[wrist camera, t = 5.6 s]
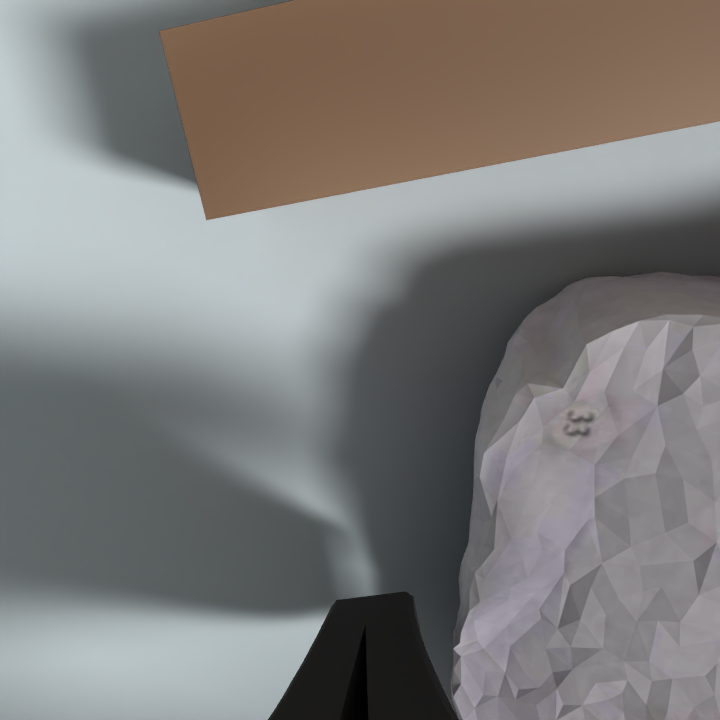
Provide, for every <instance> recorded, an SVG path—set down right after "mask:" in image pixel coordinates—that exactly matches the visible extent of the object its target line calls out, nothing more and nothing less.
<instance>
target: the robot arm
mask: <svg viewBox="0 0 720 720" xmlns="http://www.w3.org/2000/svg"><path fill="white" fill-rule="evenodd" d="M268 720H459V719H458V718H457V716H456V714H455V712H454V710H453V708H452V706H451V704H450V702H449V700H448V698H447V696H446V694H445V692H444V690H443V688H442V686H441V684H440V681H439V679H438V677H437V675H436V672H435V670H434V668H433V666H432V663H431V661H430V659H429V656H428V654H427V651H426V649H425V646H424V643H423V640H422V637H421V633H420V628H419V623H418V618H417V612H416V607H415V602H414V597H413V596H412V595H410V594H409V593H407V592H398V593H390V594H382V595H374V596H366V597H358V598H350V599H342V600H336V602H335V603H334V604H333V605H332V607H331V609H330V611H329V613H328V615H327V617H326V619H325V621H324V623H323V625H322V627H321V629H320V631H319V633H318V635H317V637H316V639H315V641H314V642H313V644H312V646H311V648H310V650H309V652H308V654H307V655H306V657H305V659H304V661H303V663H302V664H301V666H300V668H299V670H298V671H297V673H296V675H295V677H294V678H293V680H292V682H291V683H290V685H289V687H288V689H287V690H286V692H285V694H284V695H283V697H282V699H281V700H280V702H279V704H278V705H277V707H276V708H275V710H274V711H273V713H272V714H271V716H270V717H269V719H268Z"/></svg>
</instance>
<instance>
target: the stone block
mask: <svg viewBox="0 0 720 720" xmlns="http://www.w3.org/2000/svg"><path fill="white" fill-rule="evenodd" d="M459 589H460V600H461V603H460V608H459V612H458V616H457V622H456V626H455V628H454V631H453V633H452V639H453V658H452V668H451V694H452V701H453V704H454V707H455V710H456V713H457V716H458V719H459V720H720V276H706V275H685V274H680V273H672V272H664V271H661V272H653V273H645V274H637V275H631V276H626V277H618V276H604V277H590V278H584V279H581V280H578V281H576V282H573V283H571V284H569V285H567V286H566V287H565V288H564V289H563V290H562V291H560V292H559V293H558V294H557V295H556V296H554V297H553V298H551V299H549V300H548V301H546V302H545V303H543V304H541V305H539V306H537V307H536V308H535V309H534V310H533V311H532V312H530V313H529V314H528V315H527V316H526V317H525V318H524V320H523V321H522V323H521V324H520V326H519V327H518V328H517V330H516V331H515V333H514V334H513V336H512V337H511V338H510V340H509V341H508V343H507V347H506V351H505V356H504V358H503V360H502V362H501V364H500V366H499V368H498V370H497V372H496V374H495V376H494V378H493V380H492V382H491V384H490V386H489V388H488V390H487V393H486V396H485V399H484V402H483V405H482V408H481V418H480V422H479V426H478V430H477V434H476V438H475V452H474V489H473V500H472V509H471V517H470V529H469V542H468V545H467V548H466V551H465V554H464V557H463V559H462V562H461V567H460V573H459Z"/></svg>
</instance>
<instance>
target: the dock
mask: <svg viewBox="0 0 720 720" xmlns="http://www.w3.org/2000/svg"><path fill="white" fill-rule="evenodd" d="M159 33H160V37H161V41H162V45H163V49H164V53H165V57H166V61H167V65H168V69H169V73H170V76H171V80H172V84H173V88H174V92H175V96H176V100H177V104H178V108H179V112H180V116H181V120H182V124H183V128H184V132H185V136H186V140H187V144H188V148H189V152H190V156H191V160H192V164H193V168H194V172H195V176H196V180H197V184H198V188H199V192H200V196H201V200H202V204H203V208H204V212H205V216H206V220H209V219H215V218H220V217H225V216H230V215H235V214H241V213H246V212H251V211H256V210H261V209H267V208H272V207H277V206H282V205H287V204H293V203H298V202H303V201H308V200H313V199H318V198H324V197H329V196H334V195H339V194H344V193H350V192H355V191H360V190H365V189H370V188H376V187H381V186H386V185H391V184H396V183H402V182H407V181H412V180H417V179H422V178H427V177H433V176H438V175H443V174H448V173H453V172H459V171H464V170H469V169H474V168H479V167H485V166H490V165H495V164H500V163H505V162H511V161H516V160H521V159H526V158H531V157H536V156H542V155H547V154H552V153H557V152H562V151H568V150H573V149H578V148H583V147H588V146H594V145H599V144H604V143H609V142H614V141H620V140H625V139H630V138H635V137H640V136H645V135H651V134H656V133H661V132H666V131H671V130H677V129H682V128H687V127H692V126H697V125H703V124H708V123H713V122H718V121H720V0H293V1H289V2H284V3H280V4H275V5H271V6H267V7H262V8H258V9H253V10H249V11H245V12H240V13H236V14H231V15H227V16H222V17H218V18H214V19H209V20H205V21H200V22H196V23H192V24H187V25H183V26H178V27H174V28H170V29H165V30H161V31H159Z"/></svg>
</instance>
